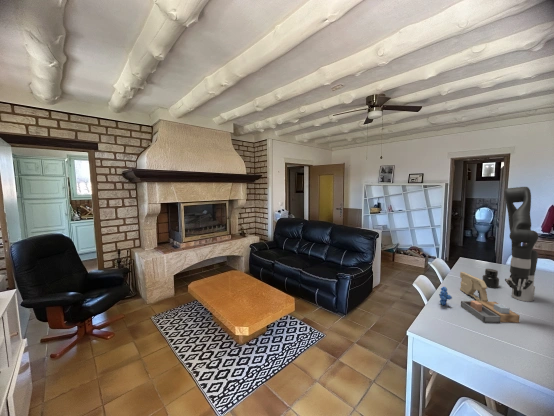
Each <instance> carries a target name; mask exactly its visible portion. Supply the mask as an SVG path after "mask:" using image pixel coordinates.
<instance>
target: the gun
mask: <svg viewBox="0 0 554 416" xmlns="http://www.w3.org/2000/svg"><path fill="white" fill-rule="evenodd" d="M459 278H461V281H460V288H459V290H460V291H461V292H463V293H464V294H466V295H468V296H470V297H472V298H473V299H475V301H477V302H478V301H486V302H489V301H488V300H489V299H488V293H487V289H488V287H487V286H486V284H485V282H484V281H483V279H481V278H478V277H476V276H474V275H471V274H469V273H467V272H465V271H460V272H459ZM476 291H477V294H478V296H477V295H475V293H476Z"/></svg>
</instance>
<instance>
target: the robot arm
mask: <svg viewBox="0 0 554 416" xmlns="http://www.w3.org/2000/svg"><path fill="white" fill-rule="evenodd" d="M503 195H504V201H505V205H506V208H507V216H508V227H509V237H508V238H509V239H510V241H511V259H510V268H509V273H510V275H509V277H508V278H505V279H504V281H505V282H506V283H507V285H508V286H509V288H511V297H512V298H514V299H516V300H517V301H518V300H519V301H522V302H527V303H528V302H530V303H531V302H534V298H535V290H536V286H535V275H536V270H537V264H538V259H539V253H538V251H536V250H534V247H535V245H536V243H537V242H538V240H539V234H538V232H537V231H536V230H532V220H531V208H532V192H531V189H530V187H528V186H519V187H518V186H516V187H509V188H508V187H507V188H505V189H504V194H503ZM514 203H522V204H521V205H520V206H519V207H518V208H517V207H516V206H515V204H514ZM522 243H523V244H524V245H522Z"/></svg>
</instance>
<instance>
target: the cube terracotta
mask: <svg viewBox="0 0 554 416" xmlns="http://www.w3.org/2000/svg"><path fill="white" fill-rule="evenodd" d="M470 301H471V304H470V306H471V307H472V308H474V309H475V310H477V311H478V312H482V304H481V303H479V302H477V301H476V300H470Z"/></svg>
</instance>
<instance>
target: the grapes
mask: <svg viewBox="0 0 554 416" xmlns="http://www.w3.org/2000/svg"><path fill="white" fill-rule="evenodd" d="M440 290H441V291H440V292H439V294H438V295H439V299H440V300H439V303H440V305H442V306H445V305H446V304H447V301H448V300H452V299H453V297H452V296H451V295H450V294H449V293H448V288H447V287H446V286H442V287H441V288H440Z"/></svg>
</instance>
